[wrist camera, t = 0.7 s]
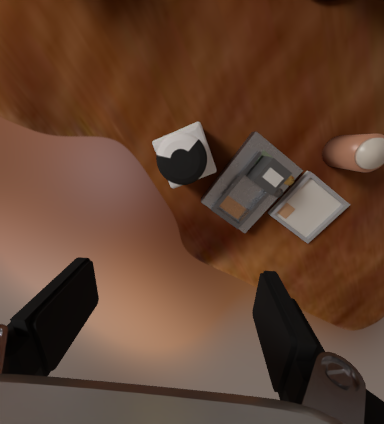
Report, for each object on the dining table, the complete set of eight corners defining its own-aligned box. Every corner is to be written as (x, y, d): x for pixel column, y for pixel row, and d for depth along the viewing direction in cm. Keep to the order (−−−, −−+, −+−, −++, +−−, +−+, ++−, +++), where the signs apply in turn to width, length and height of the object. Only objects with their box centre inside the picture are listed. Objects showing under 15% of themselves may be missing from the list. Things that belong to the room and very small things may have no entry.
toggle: (263, 155, 30) (274, 157, 25) (280, 169, 31) (293, 173, 26) (246, 176, 31) (253, 182, 27) (262, 188, 32) (272, 196, 27)
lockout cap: (340, 128, 31) (378, 124, 24) (360, 148, 32) (403, 149, 25) (315, 155, 32) (345, 158, 26) (336, 172, 33) (370, 180, 26)
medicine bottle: (214, 166, 34) (220, 178, 22) (177, 180, 35) (165, 198, 24) (200, 125, 32) (199, 115, 20) (161, 141, 33) (139, 141, 21)
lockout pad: (306, 170, 33) (310, 171, 32) (344, 202, 35) (350, 204, 33) (267, 212, 36) (270, 215, 35) (304, 240, 38) (307, 243, 36)
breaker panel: (252, 132, 32) (258, 131, 28) (296, 168, 33) (307, 171, 30) (201, 198, 36) (201, 204, 32) (242, 227, 37) (246, 236, 34)
